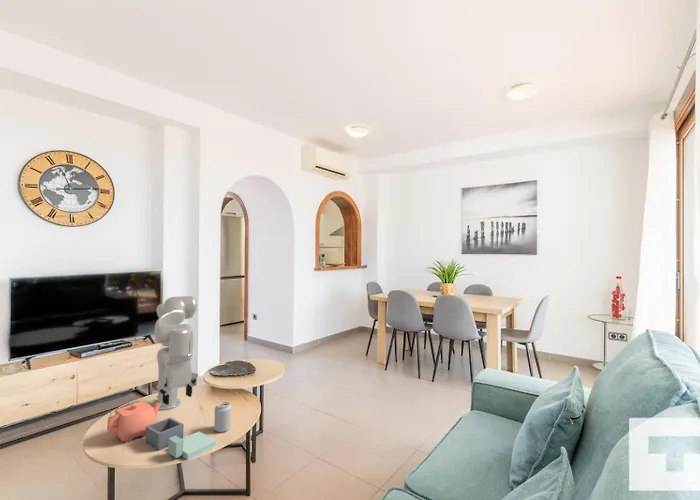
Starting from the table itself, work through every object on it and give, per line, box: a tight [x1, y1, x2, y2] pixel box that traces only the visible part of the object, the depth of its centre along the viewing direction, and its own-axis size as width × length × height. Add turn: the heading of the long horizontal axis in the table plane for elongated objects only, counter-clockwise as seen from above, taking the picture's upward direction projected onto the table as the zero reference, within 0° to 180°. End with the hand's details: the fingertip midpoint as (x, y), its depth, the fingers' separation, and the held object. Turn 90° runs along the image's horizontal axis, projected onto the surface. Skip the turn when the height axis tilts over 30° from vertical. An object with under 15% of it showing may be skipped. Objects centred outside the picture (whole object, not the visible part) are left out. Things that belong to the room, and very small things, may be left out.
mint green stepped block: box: [167, 431, 217, 461], centre depth 152 cm, size 13×16×7 cm
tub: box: [145, 416, 185, 452], centre depth 158 cm, size 11×11×7 cm
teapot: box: [106, 401, 161, 443], centre depth 163 cm, size 22×13×14 cm, turn 141°
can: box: [213, 401, 232, 433], centre depth 170 cm, size 8×8×12 cm
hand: (177, 399), depth 147 cm, fingers open, 9 cm apart
